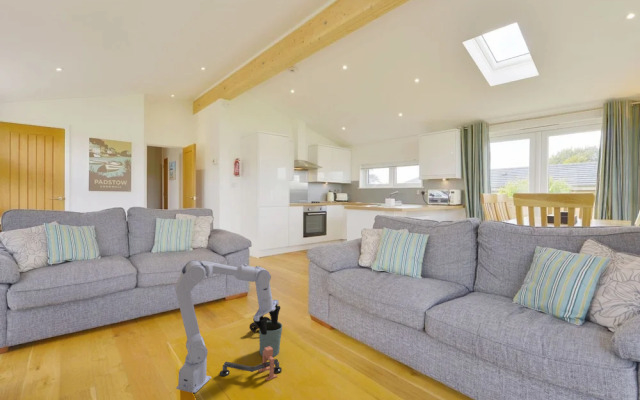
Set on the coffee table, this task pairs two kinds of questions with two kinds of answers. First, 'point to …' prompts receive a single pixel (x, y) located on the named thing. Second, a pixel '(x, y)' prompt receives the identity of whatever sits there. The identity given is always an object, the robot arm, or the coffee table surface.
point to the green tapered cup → (271, 338)
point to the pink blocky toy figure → (268, 355)
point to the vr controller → (254, 327)
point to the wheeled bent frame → (249, 367)
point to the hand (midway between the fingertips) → (269, 328)
